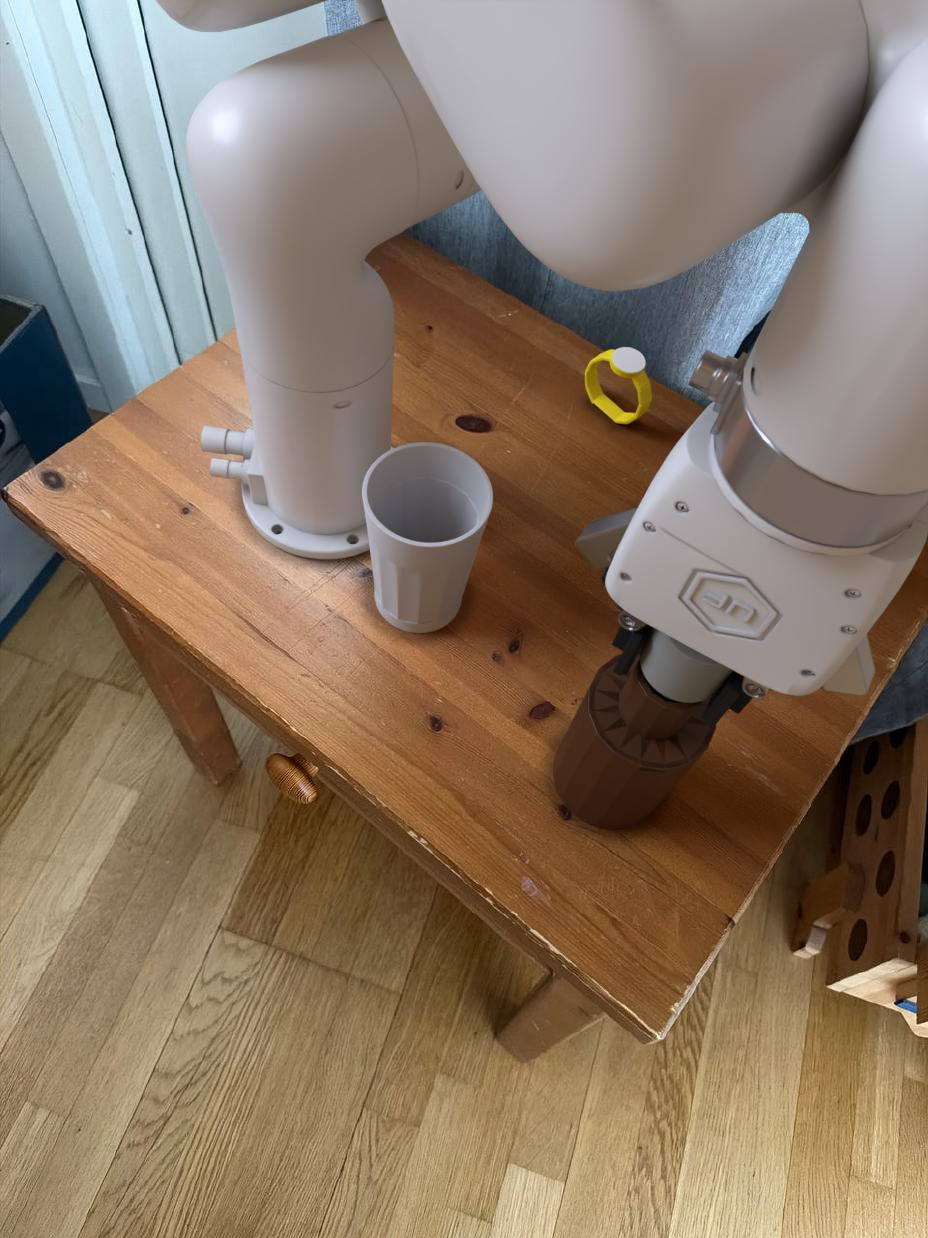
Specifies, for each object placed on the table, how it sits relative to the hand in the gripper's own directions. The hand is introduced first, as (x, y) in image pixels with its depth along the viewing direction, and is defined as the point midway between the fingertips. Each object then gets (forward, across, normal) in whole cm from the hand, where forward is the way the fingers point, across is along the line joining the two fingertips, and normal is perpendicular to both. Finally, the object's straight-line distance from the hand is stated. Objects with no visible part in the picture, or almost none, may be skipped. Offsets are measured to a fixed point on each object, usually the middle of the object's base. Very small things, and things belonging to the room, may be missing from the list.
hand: (674, 676), depth 46 cm
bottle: (+15, 0, 0) cm, 15 cm away
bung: (0, 0, 0) cm, 0 cm away
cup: (+15, -18, +5) cm, 24 cm away
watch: (+15, -14, +29) cm, 36 cm away
